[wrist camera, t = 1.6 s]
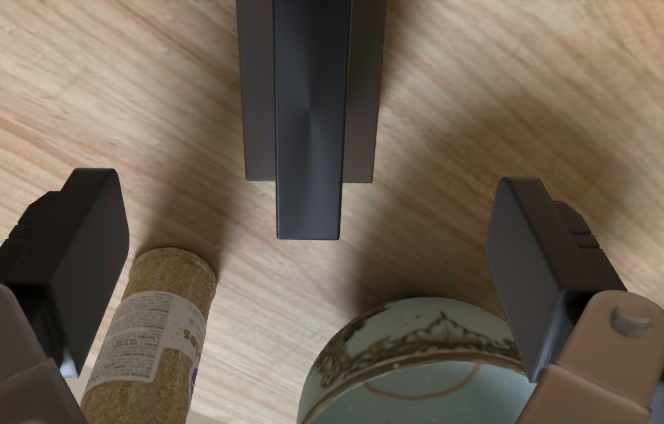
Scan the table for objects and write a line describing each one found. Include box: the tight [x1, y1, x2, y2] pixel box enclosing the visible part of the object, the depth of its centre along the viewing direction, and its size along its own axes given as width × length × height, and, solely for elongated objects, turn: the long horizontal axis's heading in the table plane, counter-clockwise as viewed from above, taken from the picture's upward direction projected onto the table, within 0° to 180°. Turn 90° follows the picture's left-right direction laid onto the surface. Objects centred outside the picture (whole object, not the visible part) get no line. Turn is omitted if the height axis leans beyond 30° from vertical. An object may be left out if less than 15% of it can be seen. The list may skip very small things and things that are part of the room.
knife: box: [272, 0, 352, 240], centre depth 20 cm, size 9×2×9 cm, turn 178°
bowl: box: [297, 294, 538, 424], centre depth 31 cm, size 14×13×8 cm
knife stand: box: [236, 0, 388, 183], centre depth 22 cm, size 11×5×4 cm, turn 178°
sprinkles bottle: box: [80, 247, 217, 424], centre depth 26 cm, size 5×5×14 cm
